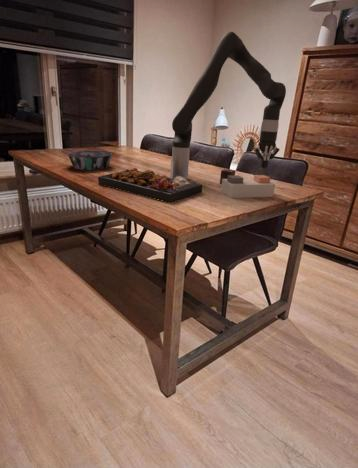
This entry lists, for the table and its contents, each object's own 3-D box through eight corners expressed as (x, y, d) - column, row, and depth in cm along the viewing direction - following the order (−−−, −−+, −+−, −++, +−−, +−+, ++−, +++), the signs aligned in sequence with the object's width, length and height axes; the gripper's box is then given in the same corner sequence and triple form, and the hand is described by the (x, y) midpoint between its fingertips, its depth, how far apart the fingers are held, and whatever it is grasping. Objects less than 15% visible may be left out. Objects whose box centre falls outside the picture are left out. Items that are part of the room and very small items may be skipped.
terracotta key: (258, 186, 155) (259, 177, 153) (253, 183, 160) (254, 175, 158) (269, 186, 156) (270, 177, 154) (263, 183, 161) (264, 175, 159)
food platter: (201, 193, 156) (203, 172, 152) (170, 204, 138) (171, 180, 134) (132, 177, 180) (132, 158, 176) (98, 185, 161) (97, 164, 157)
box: (229, 185, 171) (231, 172, 168) (219, 183, 174) (220, 170, 171) (234, 183, 176) (235, 170, 173) (224, 181, 179) (225, 168, 176)
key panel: (230, 197, 150) (232, 185, 147) (221, 190, 160) (222, 178, 158) (273, 196, 155) (275, 184, 153) (261, 190, 166) (262, 178, 164)
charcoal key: (231, 186, 151) (232, 178, 149) (226, 183, 156) (227, 175, 154) (242, 186, 152) (243, 178, 151) (237, 183, 157) (238, 175, 156)
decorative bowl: (121, 170, 202) (122, 153, 199) (88, 173, 180) (88, 155, 176) (92, 164, 214) (92, 148, 211) (57, 166, 192) (57, 149, 189)
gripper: (260, 130, 143) (255, 169, 150) (286, 131, 147) (280, 169, 153) (252, 129, 150) (247, 166, 156) (277, 129, 153) (272, 166, 160)
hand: (263, 168), depth 155 cm, fingers closed
